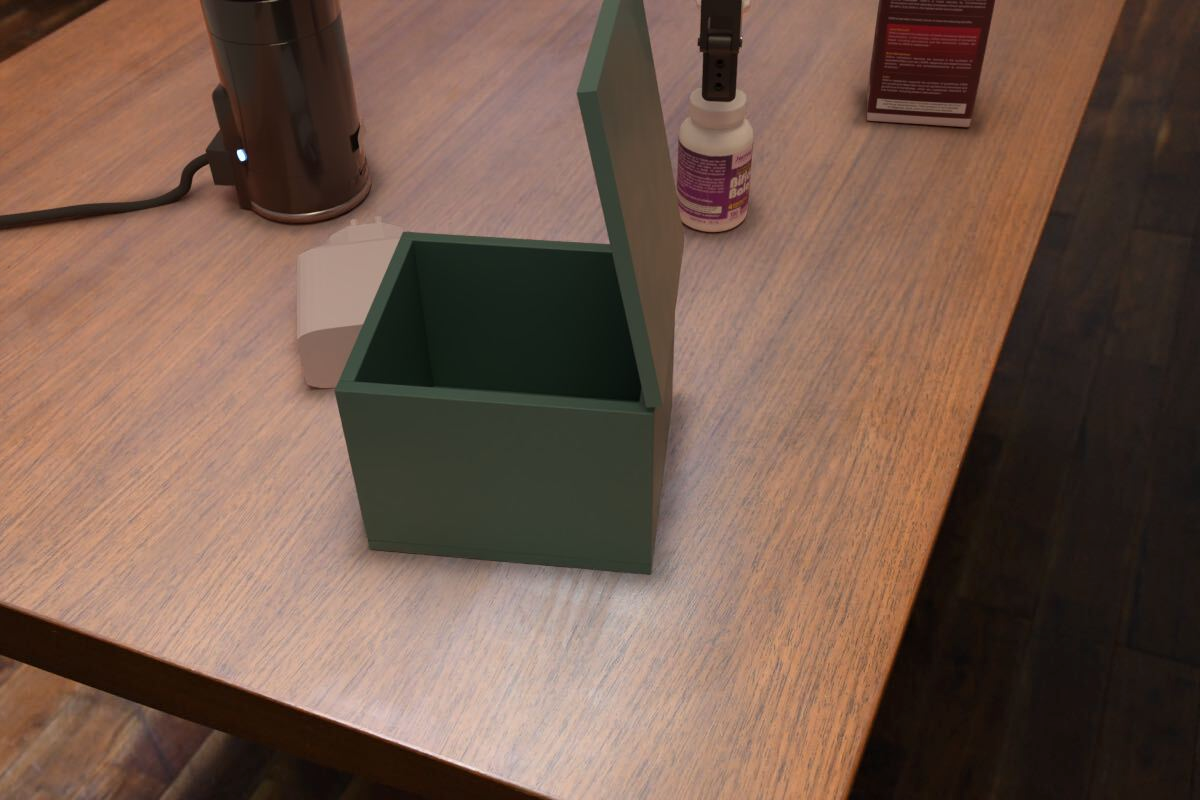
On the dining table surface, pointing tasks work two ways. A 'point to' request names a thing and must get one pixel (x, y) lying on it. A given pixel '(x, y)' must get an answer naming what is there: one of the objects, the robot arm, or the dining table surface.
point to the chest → (504, 407)
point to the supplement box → (927, 60)
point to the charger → (339, 295)
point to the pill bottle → (714, 163)
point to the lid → (634, 182)
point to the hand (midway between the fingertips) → (722, 68)
